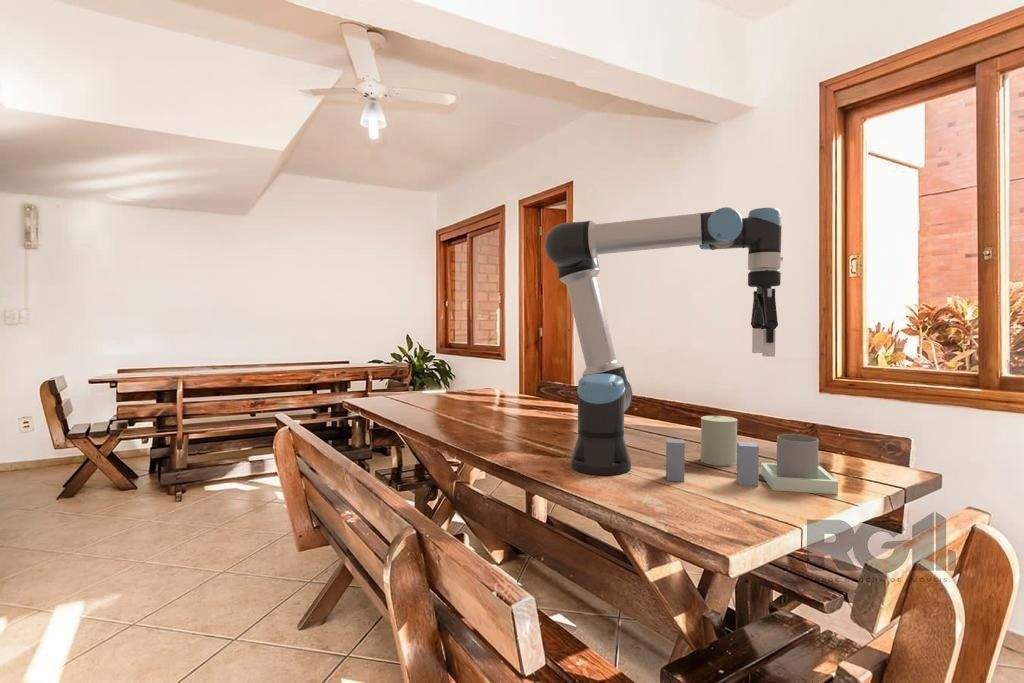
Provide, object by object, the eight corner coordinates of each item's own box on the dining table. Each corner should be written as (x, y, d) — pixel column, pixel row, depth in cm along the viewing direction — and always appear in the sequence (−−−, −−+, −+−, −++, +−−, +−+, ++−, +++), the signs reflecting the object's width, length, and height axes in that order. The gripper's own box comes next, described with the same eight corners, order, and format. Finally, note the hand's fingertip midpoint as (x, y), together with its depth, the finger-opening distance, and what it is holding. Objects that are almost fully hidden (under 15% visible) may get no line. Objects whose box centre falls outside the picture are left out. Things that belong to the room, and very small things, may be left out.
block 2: (739, 484, 126) (739, 445, 126) (736, 480, 130) (737, 442, 130) (758, 486, 125) (758, 446, 125) (754, 481, 129) (755, 442, 129)
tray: (772, 490, 122) (772, 477, 122) (760, 474, 135) (761, 462, 135) (837, 494, 119) (838, 481, 119) (819, 477, 132) (819, 465, 132)
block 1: (666, 480, 130) (666, 442, 130) (666, 475, 134) (666, 438, 134) (684, 481, 129) (684, 443, 129) (683, 476, 133) (683, 439, 133)
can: (731, 457, 151) (731, 413, 151) (742, 466, 142) (742, 420, 142) (696, 456, 152) (697, 413, 152) (705, 465, 143) (705, 419, 143)
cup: (816, 478, 129) (817, 436, 128) (819, 488, 121) (820, 443, 121) (776, 474, 132) (776, 433, 132) (776, 484, 125) (777, 440, 124)
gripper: (792, 265, 127) (791, 358, 128) (769, 274, 151) (768, 351, 152) (757, 266, 129) (756, 357, 129) (740, 274, 153) (739, 351, 154)
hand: (762, 354), depth 141 cm, fingers open, 13 cm apart
